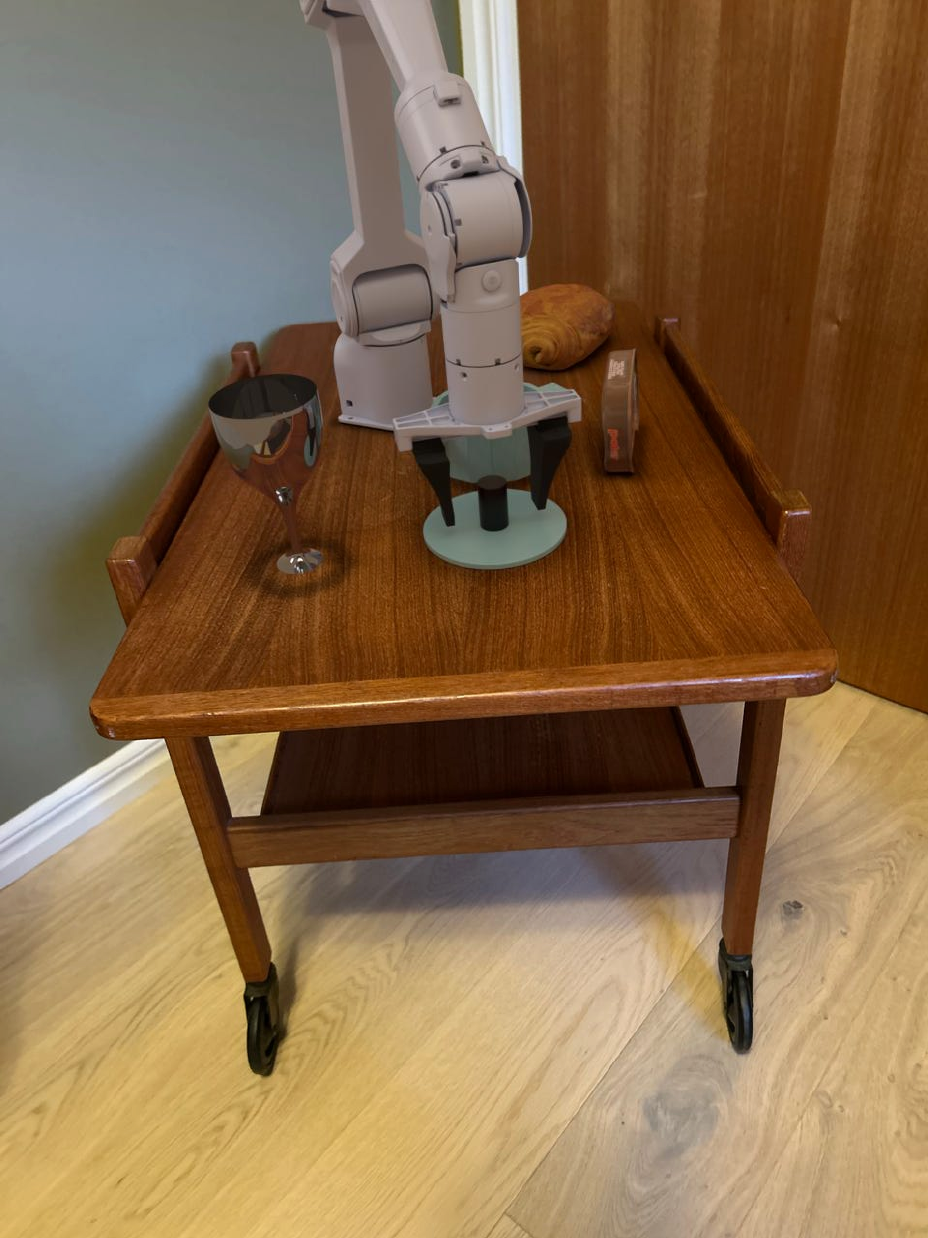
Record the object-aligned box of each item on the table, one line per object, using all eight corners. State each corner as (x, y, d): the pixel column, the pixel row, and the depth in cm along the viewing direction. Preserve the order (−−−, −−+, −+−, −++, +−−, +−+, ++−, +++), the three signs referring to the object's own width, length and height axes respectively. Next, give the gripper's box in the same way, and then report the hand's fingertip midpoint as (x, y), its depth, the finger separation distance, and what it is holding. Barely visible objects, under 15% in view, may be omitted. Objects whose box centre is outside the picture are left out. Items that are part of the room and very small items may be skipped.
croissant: (630, 351, 112) (638, 283, 107) (574, 381, 100) (580, 307, 96) (527, 333, 118) (530, 268, 114) (463, 360, 107) (464, 289, 103)
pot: (393, 466, 88) (385, 409, 84) (529, 417, 94) (527, 362, 91) (452, 510, 80) (446, 450, 77) (595, 454, 87) (596, 396, 83)
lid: (398, 530, 79) (391, 477, 75) (512, 485, 83) (510, 434, 80) (474, 594, 70) (469, 538, 67) (596, 540, 75) (597, 486, 72)
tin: (633, 489, 81) (636, 401, 76) (597, 488, 82) (598, 400, 76) (640, 416, 93) (643, 334, 87) (608, 415, 93) (610, 334, 88)
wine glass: (307, 604, 71) (268, 427, 62) (232, 579, 74) (184, 408, 65) (367, 553, 76) (339, 382, 67) (295, 532, 80) (258, 367, 70)
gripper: (395, 388, 63) (416, 553, 71) (595, 356, 65) (593, 520, 73) (380, 353, 69) (401, 509, 77) (565, 324, 70) (566, 480, 79)
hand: (493, 512), depth 75 cm, fingers open, 7 cm apart
